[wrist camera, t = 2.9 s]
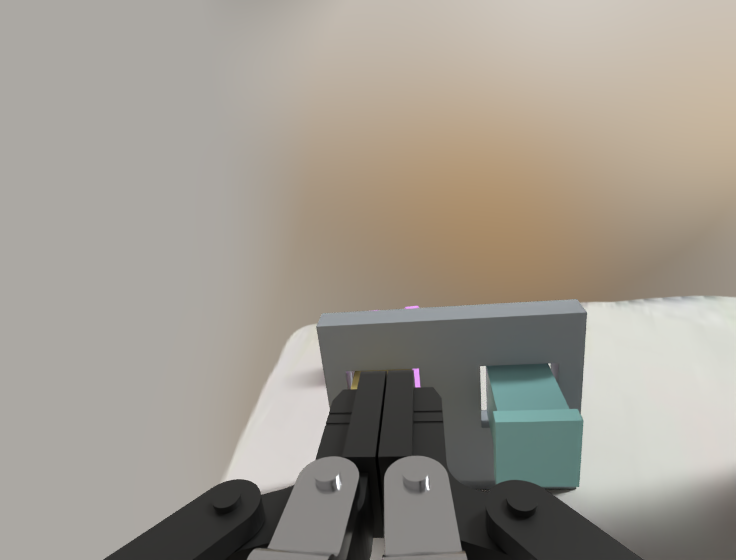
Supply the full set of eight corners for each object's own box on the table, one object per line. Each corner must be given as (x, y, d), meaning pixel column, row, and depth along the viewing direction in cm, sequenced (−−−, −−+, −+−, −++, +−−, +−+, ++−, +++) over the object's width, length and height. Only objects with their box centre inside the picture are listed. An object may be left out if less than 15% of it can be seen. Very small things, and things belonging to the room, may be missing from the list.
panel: (557, 441, 38) (563, 282, 34) (575, 488, 34) (586, 312, 29) (351, 445, 41) (329, 296, 36) (343, 490, 36) (316, 326, 31)
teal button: (550, 415, 33) (551, 357, 31) (579, 486, 27) (583, 420, 25) (482, 416, 34) (481, 360, 32) (496, 487, 28) (495, 422, 26)
